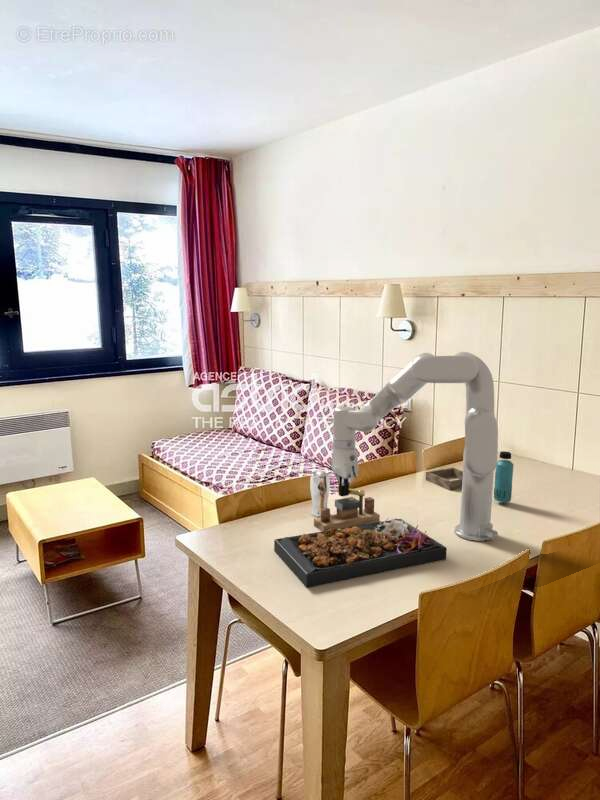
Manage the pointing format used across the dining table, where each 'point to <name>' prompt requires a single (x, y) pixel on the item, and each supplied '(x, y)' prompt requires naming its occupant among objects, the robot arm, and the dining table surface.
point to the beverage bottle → (503, 478)
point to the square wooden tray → (439, 476)
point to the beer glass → (319, 491)
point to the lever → (355, 492)
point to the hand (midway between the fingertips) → (343, 495)
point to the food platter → (357, 551)
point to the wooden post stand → (348, 516)
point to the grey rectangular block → (347, 503)
